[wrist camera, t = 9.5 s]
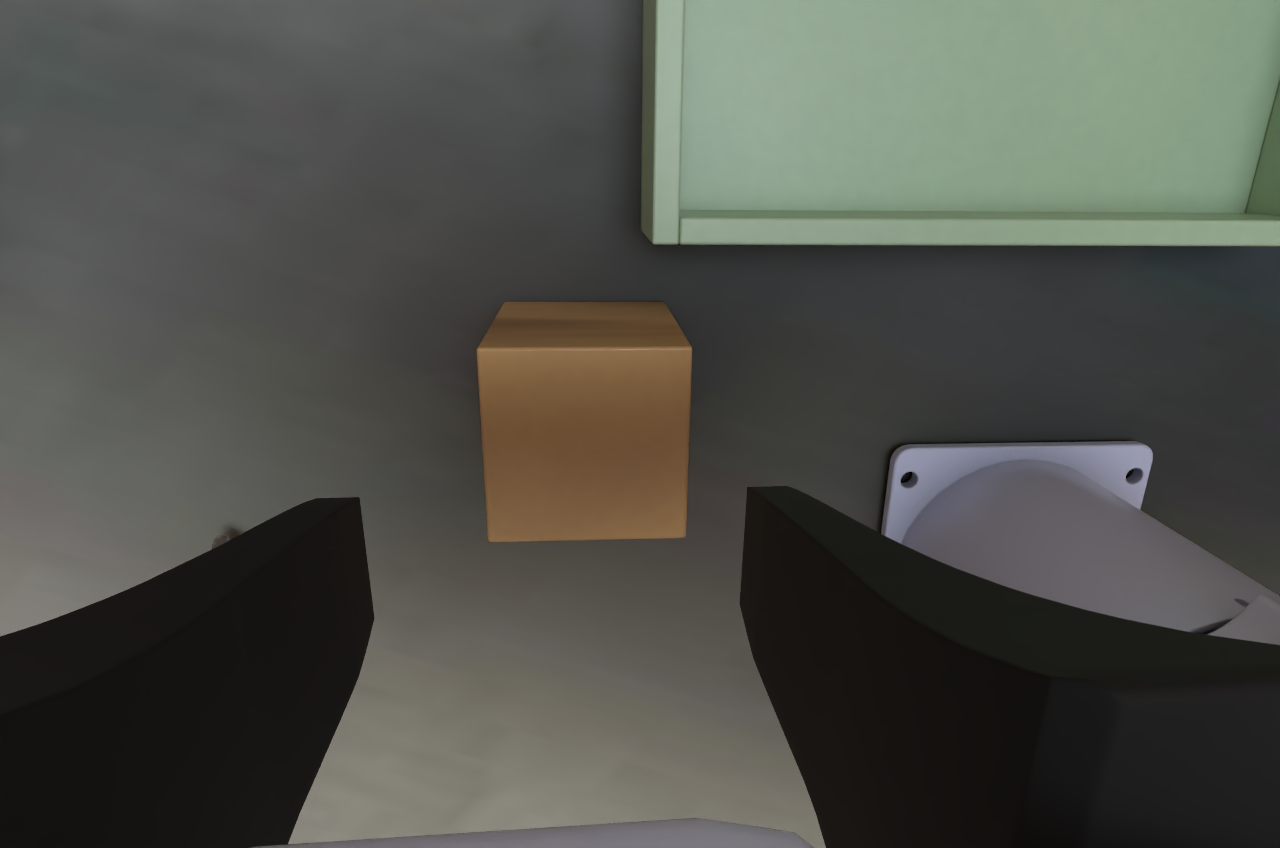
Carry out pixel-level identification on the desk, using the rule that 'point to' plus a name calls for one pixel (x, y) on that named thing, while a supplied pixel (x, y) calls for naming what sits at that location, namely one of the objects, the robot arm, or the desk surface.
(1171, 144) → the tray
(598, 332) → the block
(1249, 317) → the desk surface
